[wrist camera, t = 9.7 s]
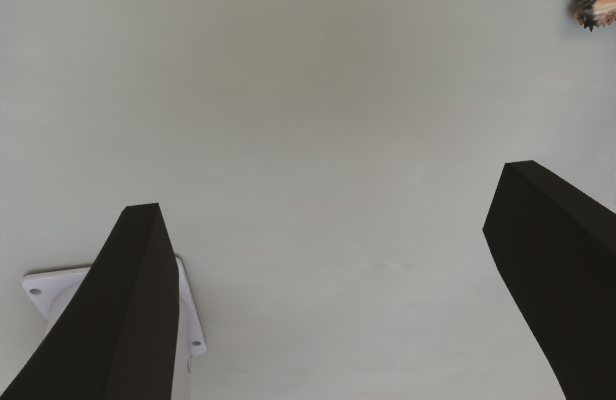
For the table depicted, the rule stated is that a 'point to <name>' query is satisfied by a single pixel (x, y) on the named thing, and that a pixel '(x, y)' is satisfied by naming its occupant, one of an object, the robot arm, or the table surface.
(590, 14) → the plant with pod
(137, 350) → the robot arm
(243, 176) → the table surface
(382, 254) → the table surface
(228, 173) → the table surface
